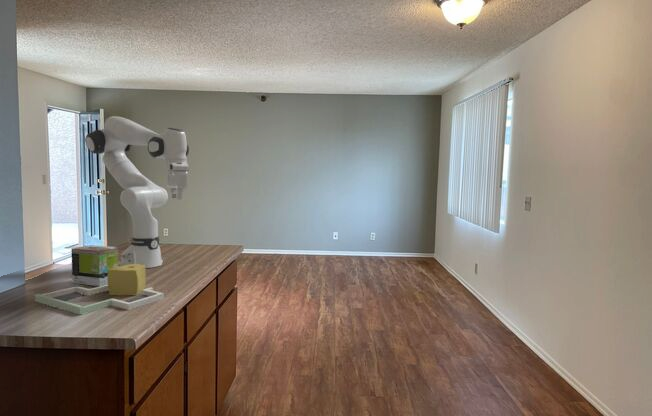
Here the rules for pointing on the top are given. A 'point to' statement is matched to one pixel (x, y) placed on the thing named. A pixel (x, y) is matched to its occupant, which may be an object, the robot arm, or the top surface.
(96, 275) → the tea box
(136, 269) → the cheese
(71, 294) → the frame
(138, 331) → the top surface
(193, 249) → the top surface
